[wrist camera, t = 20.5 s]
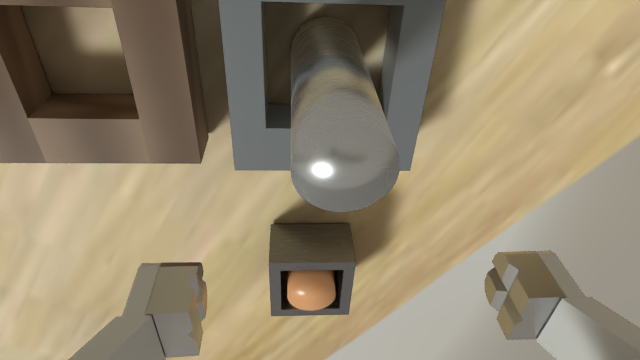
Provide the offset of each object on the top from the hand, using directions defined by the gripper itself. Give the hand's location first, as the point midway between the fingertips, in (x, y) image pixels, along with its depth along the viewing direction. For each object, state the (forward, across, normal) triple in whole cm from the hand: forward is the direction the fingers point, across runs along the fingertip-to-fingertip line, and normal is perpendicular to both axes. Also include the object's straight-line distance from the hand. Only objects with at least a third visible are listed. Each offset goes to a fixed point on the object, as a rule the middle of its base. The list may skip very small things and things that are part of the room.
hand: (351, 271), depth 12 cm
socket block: (+17, +13, 0) cm, 21 cm away
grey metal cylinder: (+17, -1, 0) cm, 17 cm away
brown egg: (+16, 0, +17) cm, 23 cm away
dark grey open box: (+17, 0, +17) cm, 24 cm away
